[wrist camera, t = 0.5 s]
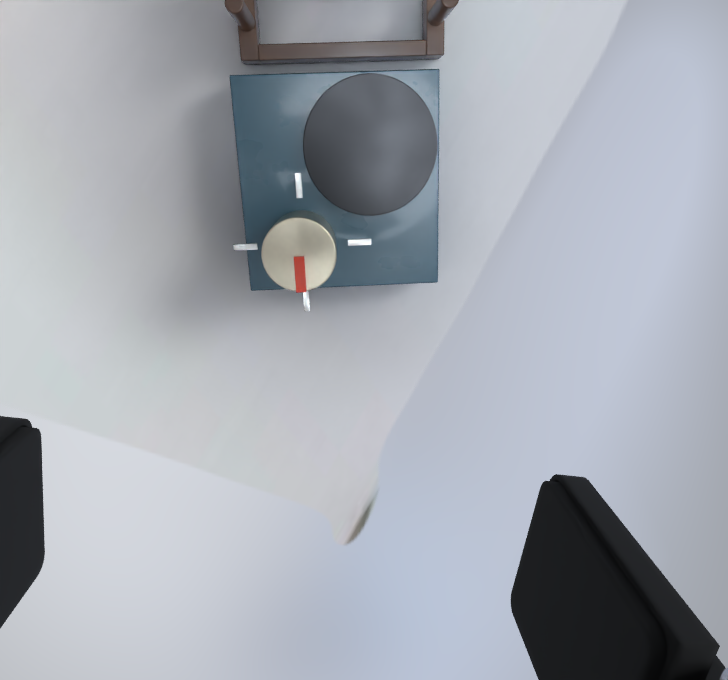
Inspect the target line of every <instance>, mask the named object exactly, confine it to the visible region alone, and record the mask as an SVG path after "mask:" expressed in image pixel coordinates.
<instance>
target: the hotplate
mask: <svg viewBox="0 0 728 680" xmlns="http://www.w3.org/2000/svg"><path fill="white" fill-rule="evenodd" d="M303 153H304V160H305V164H306V167H307V170H308V173H309V175H310V177H311V179H312V181H313V183H314V185H315V186H316V187H317V189H318V190H319V191H320V193H321V194H322V195H323V196H324V197H325V198H326V199H327V200H329V201H330V202H331V203H332V204H334V205H335V206H337V207H339V208H341V209H343V210H345V211H347V212H350V213H354V214H358V215H364V216H375V215H382V214H386V213H390V212H393V211H395V210H398V209H399V208H401V207H403V206H405V205H406V204H408V203H409V202H410V201H412V200H413V199H414V198H415V197H416V196H417V195H418V194H419V193H420V191H421V190H422V189H423V188H424V186H425V185H426V183H427V181H428V180H429V178H430V176H431V173H432V171H433V168H434V165H435V161H436V156H437V133H436V128H435V124H434V121H433V117H432V115H431V113H430V111H429V109H428V107H427V106H426V104H425V102H424V101H423V100H422V98H421V97H420V96H419V95H418V94H417V93H416V92H415V91H414V90H413V89H412V88H411V87H409V86H408V85H406V84H405V83H404V82H402V81H400V80H398V79H396V78H393V77H390V76H387V75H382V74H375V73H366V74H358V75H354V76H350V77H348V78H345V79H343V80H341V81H339V82H337V83H336V84H334V85H333V86H331V87H330V88H329V89H328V90H326V91H325V93H324V94H323V95H322V96H321V97H320V98H319V99H318V101H317V102H316V103H315V105H314V107H313V108H312V110H311V112H310V114H309V117H308V119H307V122H306V126H305V130H304V137H303Z"/></svg>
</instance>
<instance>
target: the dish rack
mask: <svg viewBox="0 0 728 680" xmlns="http://www.w3.org/2000/svg"><path fill="white" fill-rule="evenodd" d="M458 1H459V0H423V40H400V41H364V42H329V43H293V44H260V35H259V23H258V11H257V0H225V7H226V9H227V10H228V12H229V13H230V14H231V16H232V17H233V18H234V20H235V21H236V22H237V24H238V32H239V43H240V54H241V60H242V62H243V63H244V64H278V63H312V62H346V61H380V60H414V59H439V58H441V57H442V56H443V55H444V19H445V18H446V17H447V16H448V15H449V13H450V12H451V11H452V10H453V9H454V7H455V6H456V5H457V3H458Z"/></svg>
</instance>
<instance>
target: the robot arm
mask: <svg viewBox="0 0 728 680" xmlns="http://www.w3.org/2000/svg"><path fill="white" fill-rule="evenodd" d="M44 554H45V548H44V517H43V482H42V448H41V433H40V431H39V429H37V428H32V425H31V423H30V421H29V420H28V419H22V418H12V417H3V416H0V628H1V627H2V625H3V624H4V622H5V621H6V620H7V618H8V617H9V615H10V614H11V613H12V611H13V610H14V608H15V607H16V606H17V604H18V603H19V601H20V600H21V598H22V597H23V596H24V594H25V593H26V592H27V590H28V589H29V587H30V586H31V584H32V583H33V582H34V580H35V579H36V577H37V576H38V574H39V572H40V570H41V568H42V565H43V561H44ZM511 608H512V613H513V616H514V618H515V621H516V623H517V626H518V628H519V631H520V634H521V636H522V639H523V641H524V644H525V646H526V648H527V651H528V654H529V656H530V659H531V661H532V664H533V667H534V669H535V672H536V674H537V677H538V679H539V680H728V668H725V666H724V665H723V664H722V663H721V661H720V660H719V659H718V657H717V656H716V654H717V651H718V649H719V647H720V646H719V645H718V643H717V642H716V641H715V639H714V638H713V637H712V636H711V634H710V633H709V632H708V630H707V629H706V628H705V627H704V626H703V624H702V623H701V622H700V620H699V619H698V618H697V617H696V615H695V614H694V613H693V612H692V610H691V609H690V608H689V607H688V605H687V604H686V603H685V601H684V600H683V599H682V598H681V597H680V595H679V594H678V593H677V591H676V590H675V589H674V588H673V586H672V585H671V584H670V583H669V582H668V580H667V579H666V578H665V576H664V575H663V574H662V573H661V571H660V570H659V569H658V568H657V566H656V565H655V564H654V563H653V561H652V560H651V559H650V557H649V556H648V555H647V554H646V552H645V551H644V550H643V549H642V547H641V546H640V545H639V543H638V542H637V541H636V540H635V538H634V537H633V536H632V535H631V533H630V532H629V531H628V530H627V528H626V527H625V526H624V525H623V523H622V522H621V521H620V520H619V518H618V517H617V516H616V515H615V513H614V512H613V511H612V509H611V508H610V507H609V506H608V504H607V503H606V502H605V501H604V500H603V498H602V497H601V496H600V494H599V493H598V492H597V491H596V489H595V488H594V487H593V485H592V484H591V483H590V482H589V480H587V479H586V478H584V477H576V476H567V475H557V474H556V475H554V476H553V477H552V478H551V479H550V481H545V482H543V484H542V485H541V488H540V491H539V495H538V498H537V502H536V506H535V509H534V513H533V517H532V520H531V524H530V527H529V531H528V535H527V538H526V542H525V546H524V549H523V553H522V556H521V560H520V564H519V567H518V571H517V574H516V578H515V582H514V586H513V589H512V593H511Z"/></svg>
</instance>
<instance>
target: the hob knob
mask: <svg viewBox="0 0 728 680" xmlns="http://www.w3.org/2000/svg"><path fill="white" fill-rule="evenodd" d="M261 256H262V262H263V266H264V268H265V270H266V272H267V274H268V275H269V277H270V278H271V279H272V280H273V281H274V282H275V283H276V284H278V285H279V286H281V287H283V288H285V289H287V290H291V291H296V293H300V292H307V291H309V290H313V289H315V288H317V287H319V286H321V285H322V284H323V283H324V282H325V281H327V279H328V278H329V277H330V276H331V274H332V272H333V270H334V268H335V264H336V259H337V250H336V238H335V234H334V231H333V229H332V228H331V226H330V225H329V223H328V222H327V221H326V220H325V219H324V218H323V217H321V216H320V215H318V214H316V213H314V212H310V211H305V210H299V211H293V212H290V213H288V214H286V215H284V216H283V217H281V218H280V219H279V220H278V221H277V222H276V223H275V224H274V226H273V227H272V228H271V229H270V230H269V232H268V233H267V235H266V237H265V239H264V241H263V245H262V251H261Z"/></svg>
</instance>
